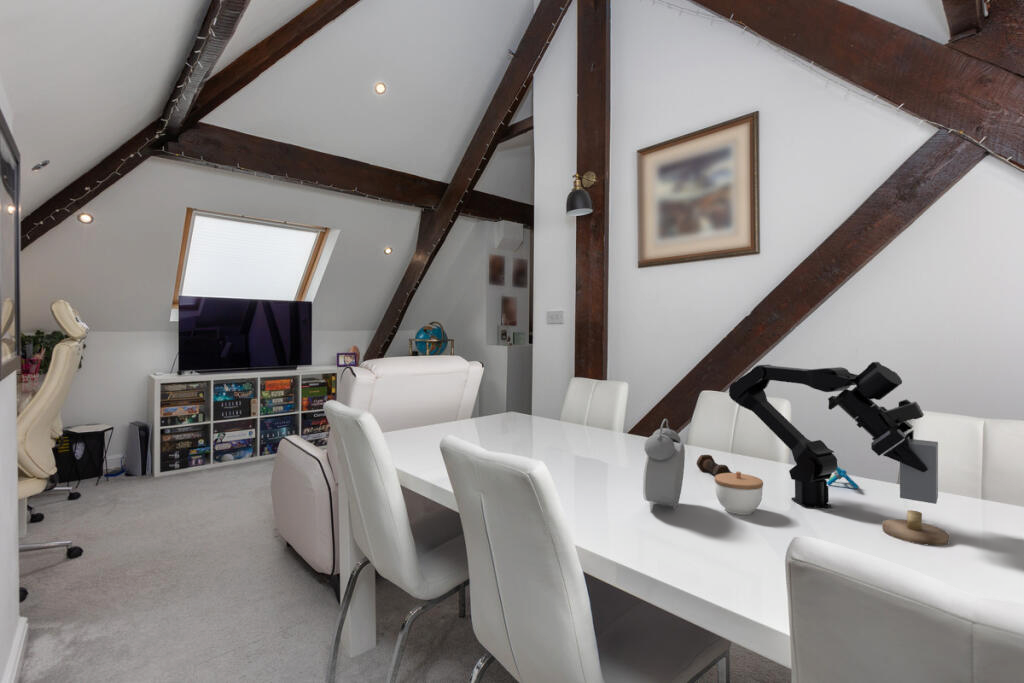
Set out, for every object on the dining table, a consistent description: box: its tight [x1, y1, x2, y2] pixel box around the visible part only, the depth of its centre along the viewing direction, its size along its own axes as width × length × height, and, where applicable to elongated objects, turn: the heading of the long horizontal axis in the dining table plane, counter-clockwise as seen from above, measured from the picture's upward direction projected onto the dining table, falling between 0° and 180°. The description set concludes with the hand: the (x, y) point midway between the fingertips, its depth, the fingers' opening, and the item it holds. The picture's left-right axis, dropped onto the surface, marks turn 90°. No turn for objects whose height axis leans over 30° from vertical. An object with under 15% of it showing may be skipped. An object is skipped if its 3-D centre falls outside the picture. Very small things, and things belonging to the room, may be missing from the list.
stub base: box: [881, 510, 950, 546], centre depth 107 cm, size 11×11×5 cm
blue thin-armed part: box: [827, 465, 859, 489], centre depth 142 cm, size 11×6×10 cm
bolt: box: [696, 454, 733, 477], centre depth 152 cm, size 6×5×15 cm
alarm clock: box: [642, 418, 686, 512], centre depth 125 cm, size 16×9×22 cm, turn 154°
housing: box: [899, 438, 939, 505], centre depth 109 cm, size 6×6×12 cm
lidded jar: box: [714, 471, 764, 516], centre depth 122 cm, size 11×11×9 cm
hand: (927, 468), depth 108 cm, fingers closed on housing, 6 cm apart
